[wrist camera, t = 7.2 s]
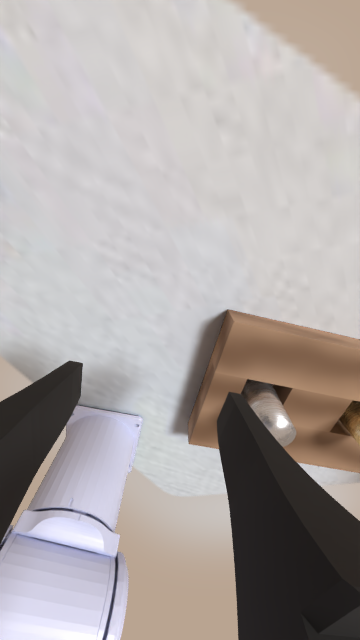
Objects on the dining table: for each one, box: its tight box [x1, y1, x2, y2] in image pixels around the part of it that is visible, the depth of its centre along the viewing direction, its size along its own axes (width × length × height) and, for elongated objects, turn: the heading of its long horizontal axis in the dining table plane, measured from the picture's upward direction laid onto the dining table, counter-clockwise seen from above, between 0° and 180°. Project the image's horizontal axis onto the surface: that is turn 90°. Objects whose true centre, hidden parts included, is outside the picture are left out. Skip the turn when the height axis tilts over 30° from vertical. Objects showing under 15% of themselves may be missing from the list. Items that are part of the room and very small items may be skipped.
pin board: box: [188, 310, 360, 473], centre depth 21 cm, size 14×20×2 cm
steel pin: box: [241, 379, 296, 447], centre depth 19 cm, size 3×3×6 cm
